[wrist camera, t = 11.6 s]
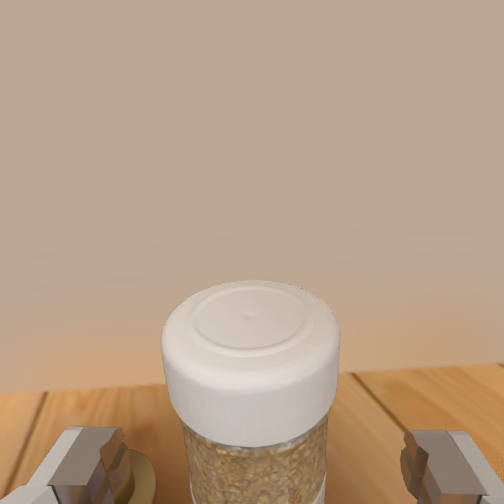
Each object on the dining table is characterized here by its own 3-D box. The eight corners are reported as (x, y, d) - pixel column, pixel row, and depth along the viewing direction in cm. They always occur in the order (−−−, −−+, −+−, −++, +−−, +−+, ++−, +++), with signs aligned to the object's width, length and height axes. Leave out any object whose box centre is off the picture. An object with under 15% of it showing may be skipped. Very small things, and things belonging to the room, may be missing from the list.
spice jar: (189, 575, 13) (134, 304, 8) (272, 504, 15) (266, 262, 11) (249, 734, 10) (212, 421, 5) (344, 611, 12) (383, 320, 7)
